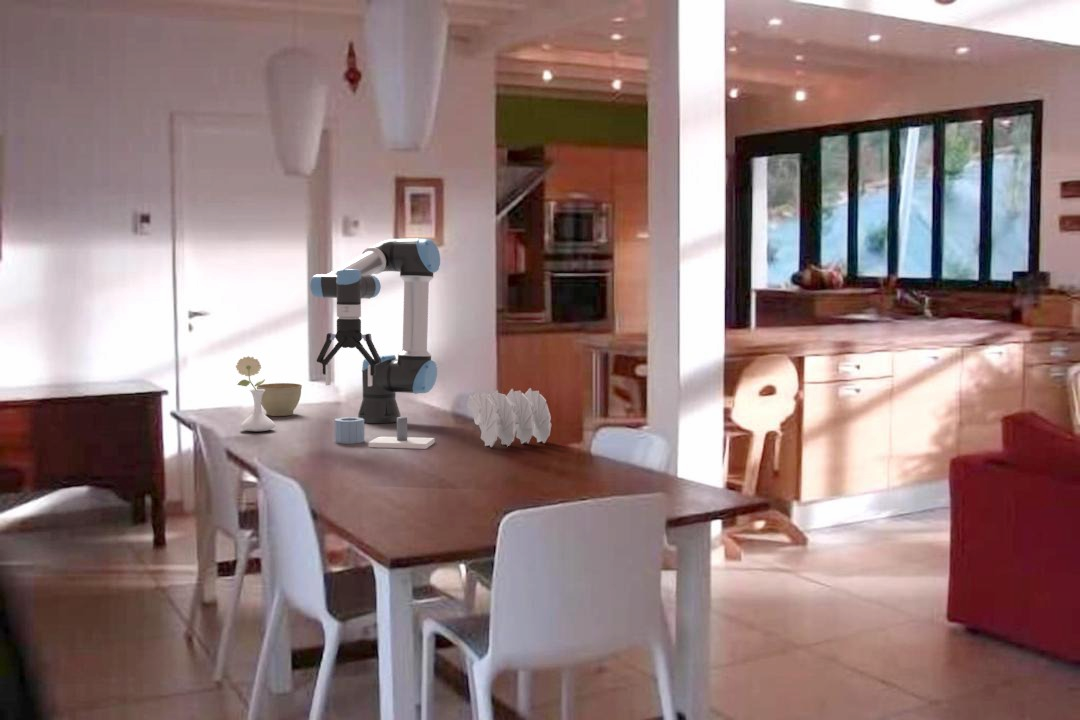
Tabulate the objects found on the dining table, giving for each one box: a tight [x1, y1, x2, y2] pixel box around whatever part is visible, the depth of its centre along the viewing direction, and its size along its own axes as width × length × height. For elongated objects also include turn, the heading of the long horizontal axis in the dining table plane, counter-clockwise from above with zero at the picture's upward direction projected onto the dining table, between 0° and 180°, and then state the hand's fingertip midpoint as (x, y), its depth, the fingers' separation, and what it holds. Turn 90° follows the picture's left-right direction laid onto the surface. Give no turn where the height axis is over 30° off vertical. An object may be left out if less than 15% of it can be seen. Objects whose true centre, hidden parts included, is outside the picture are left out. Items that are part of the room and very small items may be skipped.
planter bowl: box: [256, 382, 303, 417], centre depth 435 cm, size 16×16×11 cm
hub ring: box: [334, 416, 365, 445], centre depth 375 cm, size 9×9×7 cm
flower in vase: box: [235, 356, 276, 433], centre depth 394 cm, size 13×11×25 cm
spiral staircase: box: [466, 387, 552, 448], centre depth 370 cm, size 18×18×25 cm
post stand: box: [368, 416, 436, 450], centre depth 368 cm, size 12×18×8 cm, turn 83°
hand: (349, 385), depth 373 cm, fingers open, 13 cm apart
